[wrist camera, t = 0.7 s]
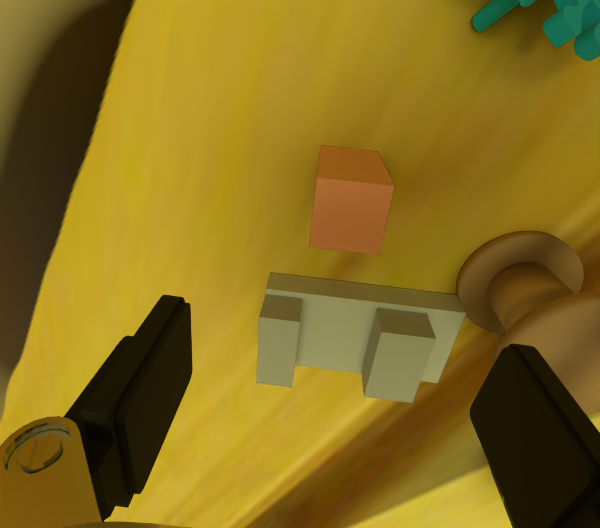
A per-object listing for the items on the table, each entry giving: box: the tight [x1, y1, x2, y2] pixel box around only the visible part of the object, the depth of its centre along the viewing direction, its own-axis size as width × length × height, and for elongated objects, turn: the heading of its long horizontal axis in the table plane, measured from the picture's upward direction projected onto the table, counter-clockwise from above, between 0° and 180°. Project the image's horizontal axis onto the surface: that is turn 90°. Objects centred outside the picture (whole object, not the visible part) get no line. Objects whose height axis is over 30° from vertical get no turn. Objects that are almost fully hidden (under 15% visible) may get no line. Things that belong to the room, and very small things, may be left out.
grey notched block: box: [256, 273, 466, 403], centre depth 30 cm, size 16×8×6 cm, turn 84°
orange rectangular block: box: [309, 145, 395, 255], centre depth 23 cm, size 4×4×8 cm
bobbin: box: [456, 231, 600, 414], centre depth 25 cm, size 9×9×9 cm
